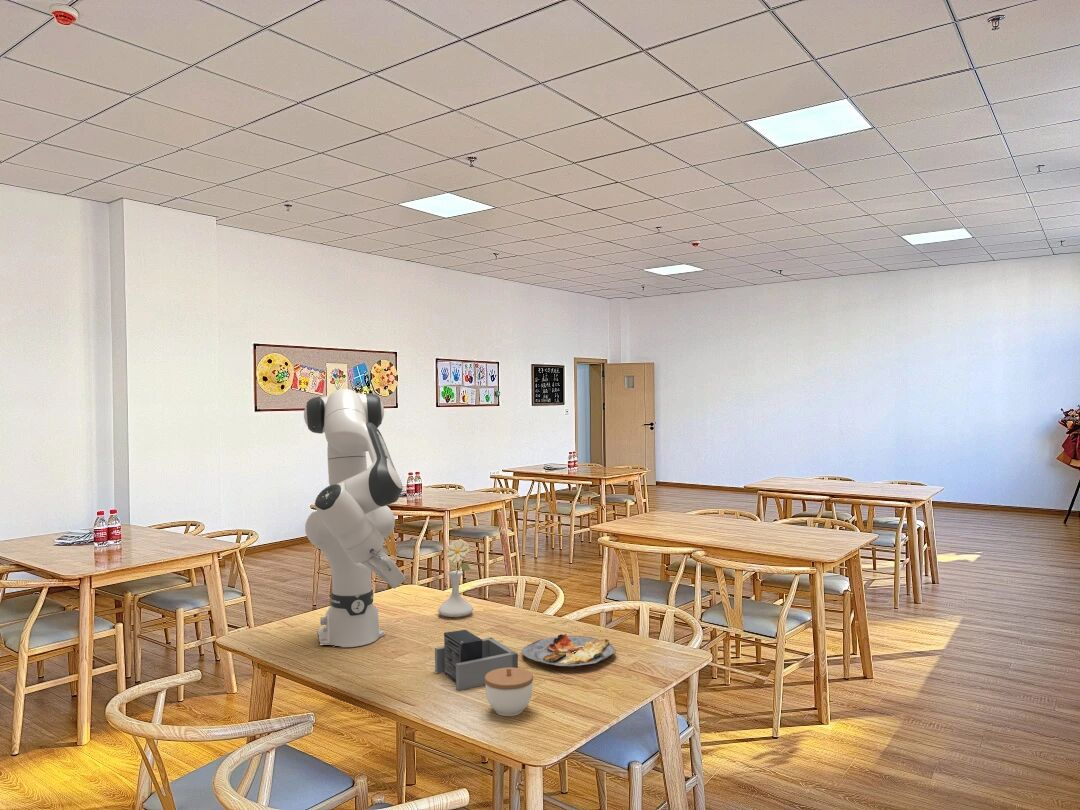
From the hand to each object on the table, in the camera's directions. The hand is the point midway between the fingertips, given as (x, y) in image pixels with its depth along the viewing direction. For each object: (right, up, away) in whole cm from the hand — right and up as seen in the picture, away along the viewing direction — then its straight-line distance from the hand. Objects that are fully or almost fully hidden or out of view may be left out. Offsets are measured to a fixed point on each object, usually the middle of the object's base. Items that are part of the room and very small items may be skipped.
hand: (394, 585), depth 182 cm
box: (+19, -24, +6) cm, 31 cm away
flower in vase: (+9, -24, +58) cm, 64 cm away
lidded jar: (+29, -24, -17) cm, 41 cm away
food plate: (+43, -24, +18) cm, 53 cm away
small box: (+17, -24, +4) cm, 30 cm away
